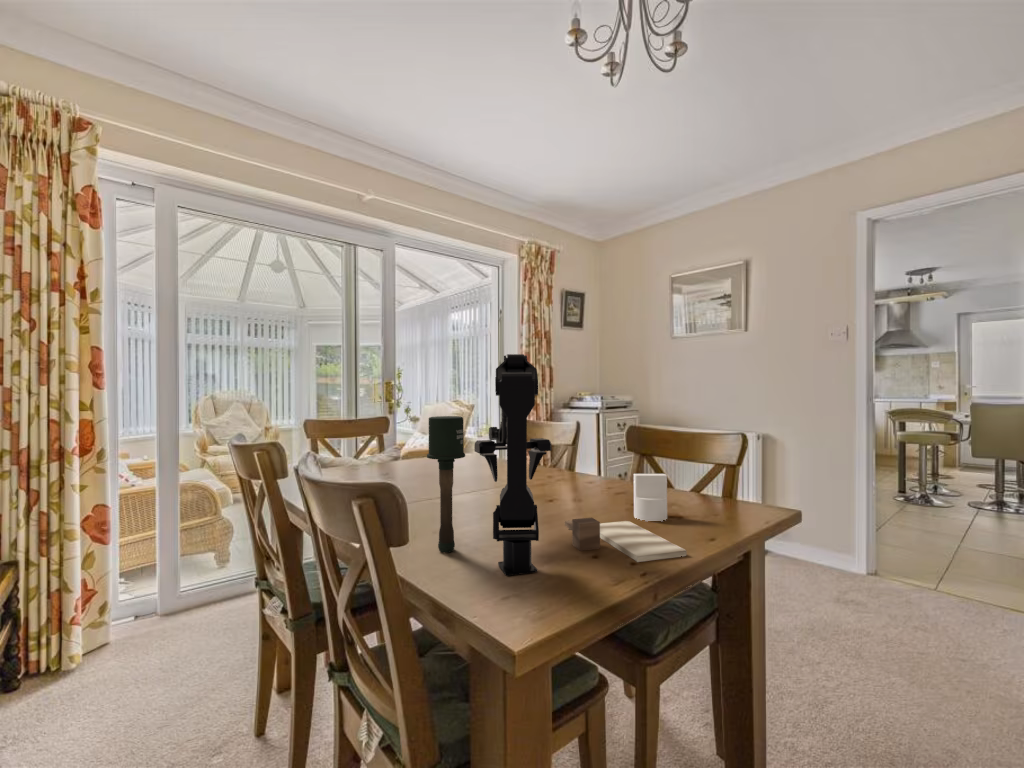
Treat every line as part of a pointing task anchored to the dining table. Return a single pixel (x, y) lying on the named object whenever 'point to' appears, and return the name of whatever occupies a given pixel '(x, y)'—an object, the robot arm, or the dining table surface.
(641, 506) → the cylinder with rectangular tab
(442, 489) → the stick grenade
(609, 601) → the dining table surface
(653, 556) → the birch board
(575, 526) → the marking gauge
